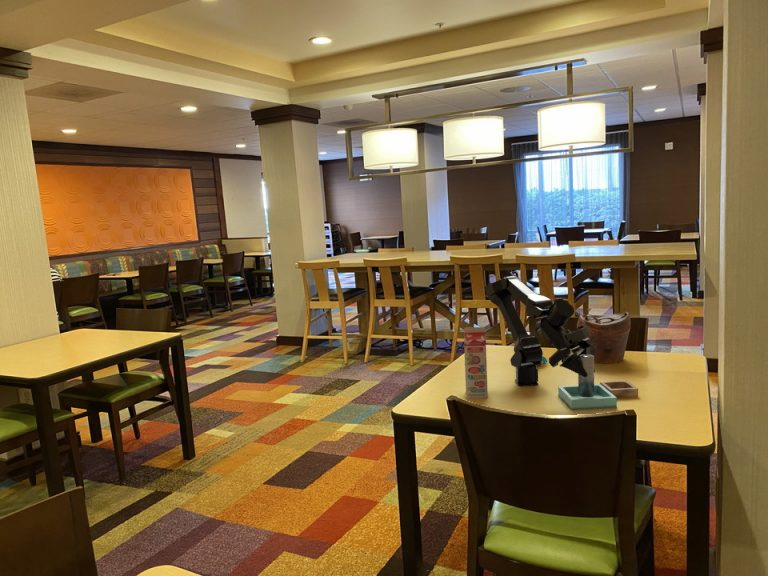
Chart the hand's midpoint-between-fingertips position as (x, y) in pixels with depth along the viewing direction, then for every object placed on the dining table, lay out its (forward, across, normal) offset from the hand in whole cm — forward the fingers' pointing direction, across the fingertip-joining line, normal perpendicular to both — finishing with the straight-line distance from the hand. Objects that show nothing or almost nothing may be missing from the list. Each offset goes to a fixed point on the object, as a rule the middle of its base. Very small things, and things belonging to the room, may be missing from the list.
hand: (590, 374), depth 175 cm
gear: (-19, +29, +32) cm, 47 cm away
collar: (+8, +13, +4) cm, 16 cm away
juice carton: (-16, -14, +29) cm, 36 cm away
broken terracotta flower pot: (-6, +47, +19) cm, 51 cm away
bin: (+5, 0, +7) cm, 9 cm away
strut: (+4, 0, +6) cm, 7 cm away
